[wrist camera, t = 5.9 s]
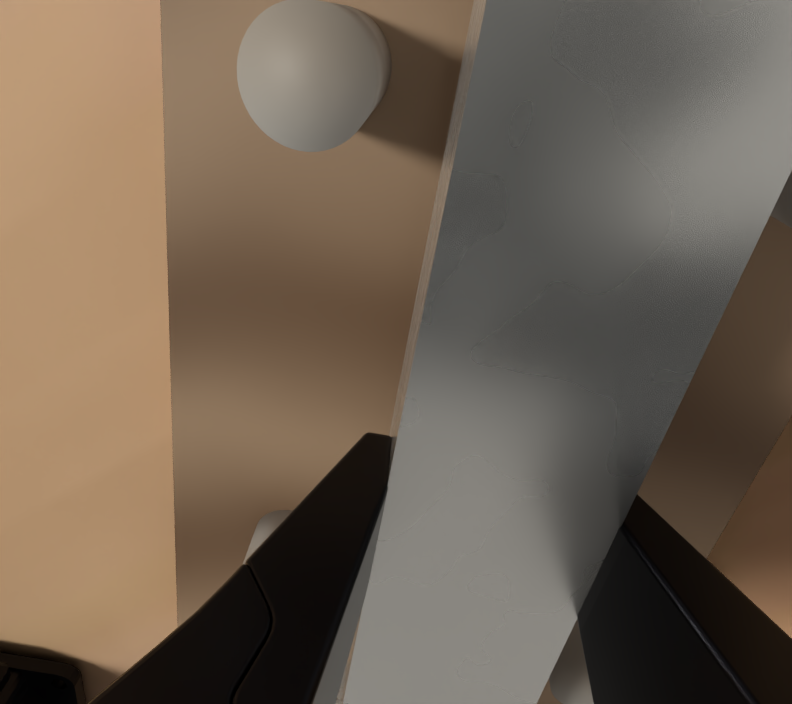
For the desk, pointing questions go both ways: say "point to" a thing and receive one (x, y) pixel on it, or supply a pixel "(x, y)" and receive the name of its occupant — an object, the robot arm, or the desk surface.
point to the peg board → (367, 277)
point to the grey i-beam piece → (561, 319)
